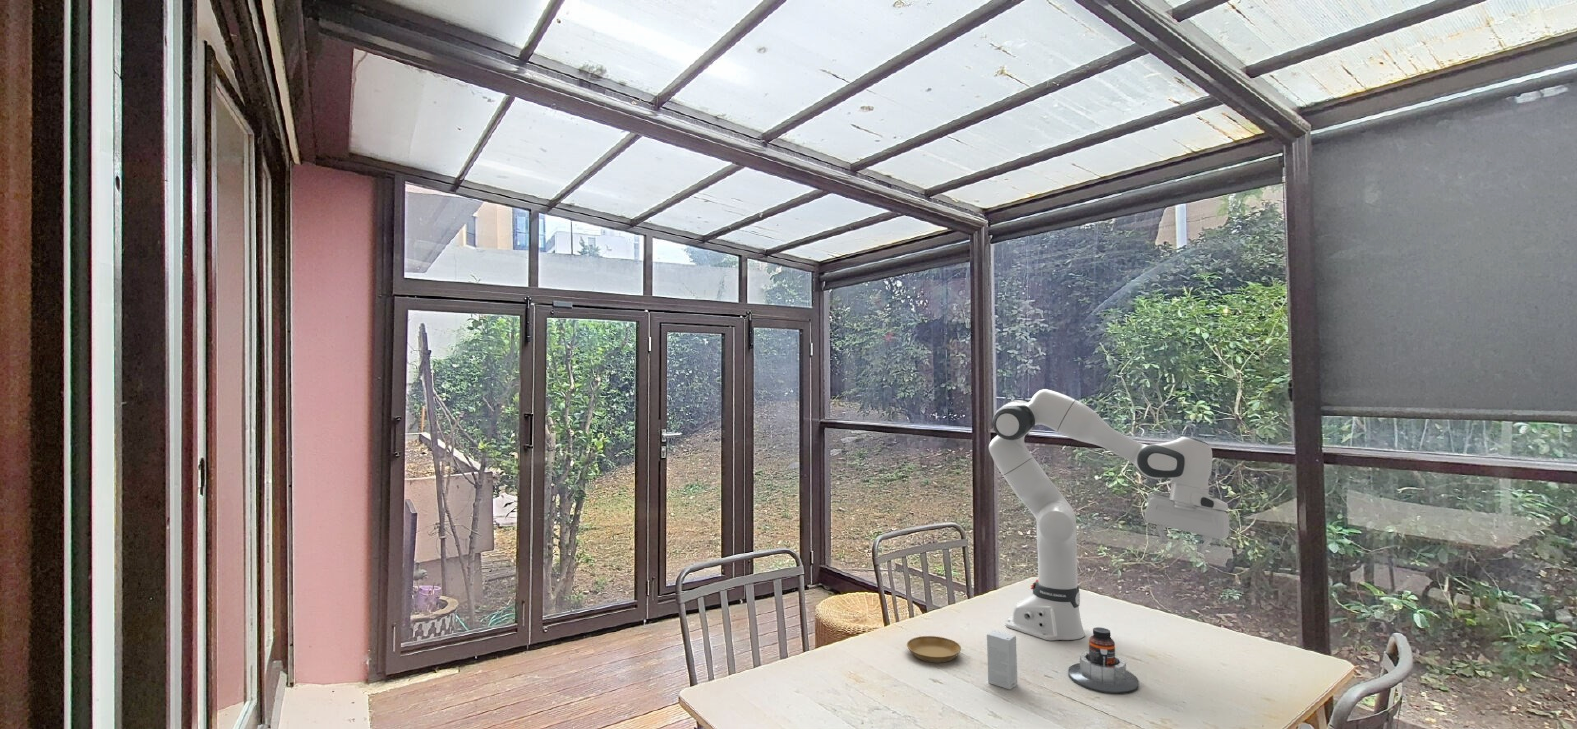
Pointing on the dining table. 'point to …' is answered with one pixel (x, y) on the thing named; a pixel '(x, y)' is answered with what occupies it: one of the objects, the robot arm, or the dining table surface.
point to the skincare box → (1002, 659)
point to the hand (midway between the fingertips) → (1181, 547)
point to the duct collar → (1103, 676)
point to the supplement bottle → (1101, 647)
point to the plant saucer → (934, 648)
